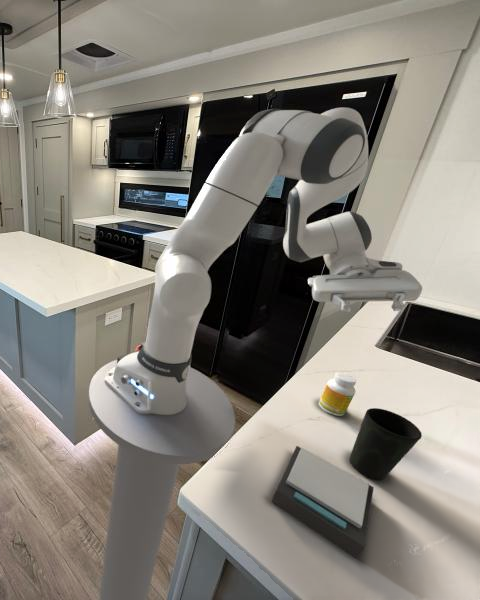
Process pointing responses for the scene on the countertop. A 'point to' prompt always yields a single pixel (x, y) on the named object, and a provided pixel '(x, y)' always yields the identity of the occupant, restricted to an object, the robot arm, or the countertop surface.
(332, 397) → the supplement bottle
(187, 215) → the robot arm
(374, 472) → the cup
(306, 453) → the kitchen scale
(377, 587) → the countertop surface
